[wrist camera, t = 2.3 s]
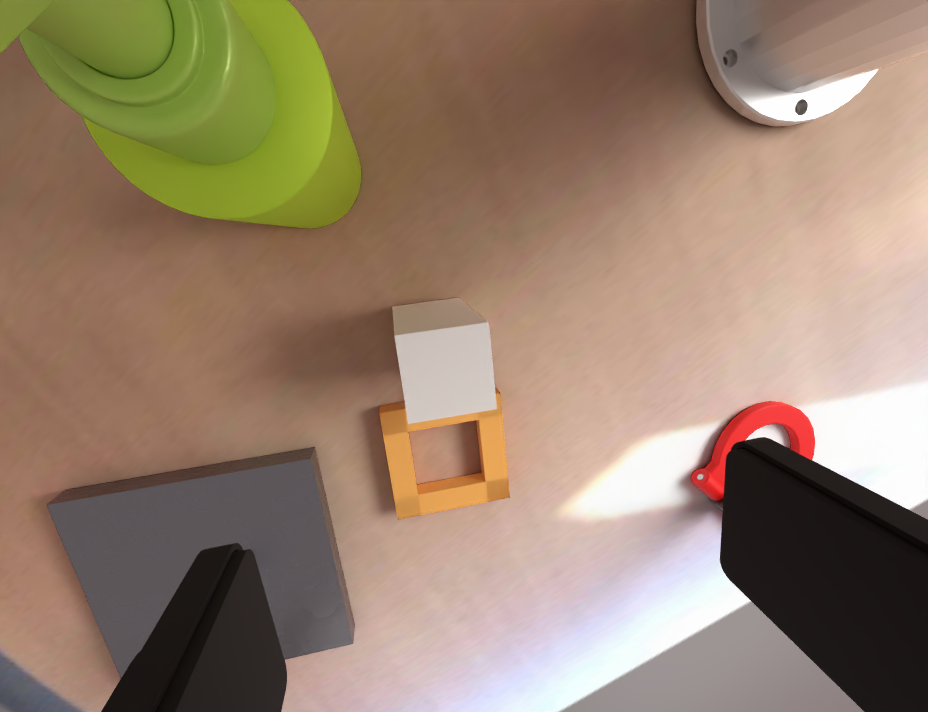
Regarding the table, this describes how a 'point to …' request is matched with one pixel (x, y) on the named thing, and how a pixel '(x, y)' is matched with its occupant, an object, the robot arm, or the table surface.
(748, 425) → the tow hook
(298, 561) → the plate
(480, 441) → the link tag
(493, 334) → the table surface
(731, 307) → the table surface
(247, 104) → the soap dispenser
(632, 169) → the table surface
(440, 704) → the table surface
